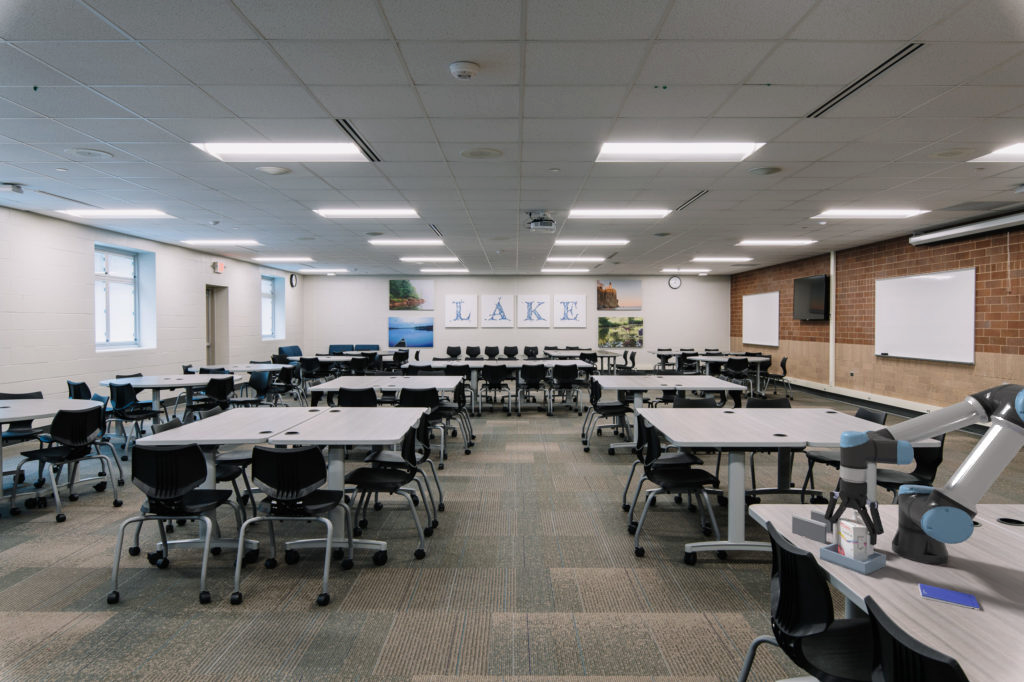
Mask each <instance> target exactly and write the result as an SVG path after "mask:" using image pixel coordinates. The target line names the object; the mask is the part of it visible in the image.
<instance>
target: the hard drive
mask: <svg viewBox="0 0 1024 682" xmlns="http://www.w3.org/2000/svg"><path fill="white" fill-rule="evenodd" d="M918 590H919V593H920V597H921V599H924V600H925V599H926V600H929V601H934V602H939V603H943V604H947V603H948V604H949V605H952V604H953V605H952V606H956V605H958V607H961V606H964V607H963V608H966V607H970V608H971V607H972V608H977V609H981V607H980V604H979V602H978V600H977V598H976V596H975V595H974V594H970V593H965V592H962V591H961V592H960V591H955V590H951V589H948V588H942V587H938V586H932V585H928V584H924V583H918ZM970 608H969V609H970Z"/></svg>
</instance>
